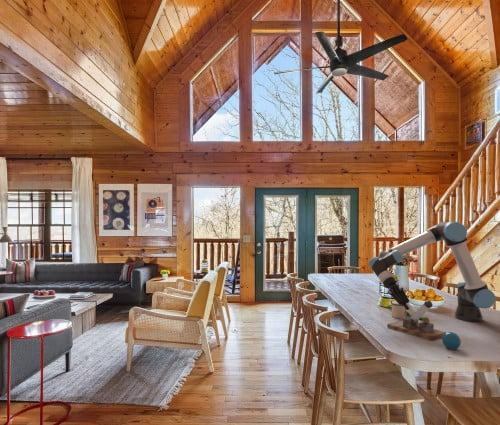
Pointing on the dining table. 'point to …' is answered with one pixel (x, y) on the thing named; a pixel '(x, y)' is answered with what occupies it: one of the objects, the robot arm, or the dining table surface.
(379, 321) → the dining table surface
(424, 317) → the green onion
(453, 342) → the ball
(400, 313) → the teacup with lid
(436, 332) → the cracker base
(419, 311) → the lever
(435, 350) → the dining table surface
